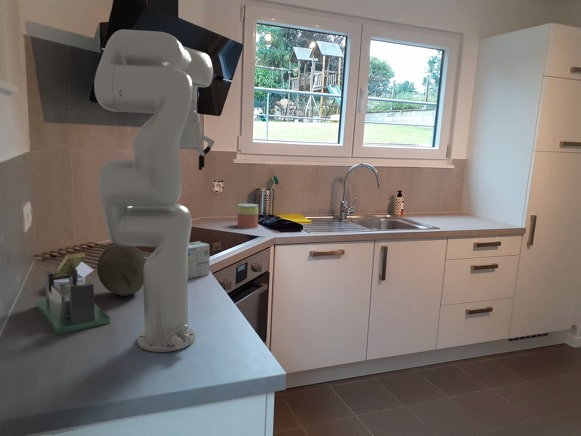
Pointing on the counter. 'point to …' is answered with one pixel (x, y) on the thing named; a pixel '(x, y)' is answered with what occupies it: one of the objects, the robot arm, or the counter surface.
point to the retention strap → (68, 266)
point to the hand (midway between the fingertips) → (183, 169)
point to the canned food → (247, 216)
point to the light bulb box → (198, 259)
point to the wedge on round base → (81, 274)
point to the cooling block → (70, 306)
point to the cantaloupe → (121, 269)
